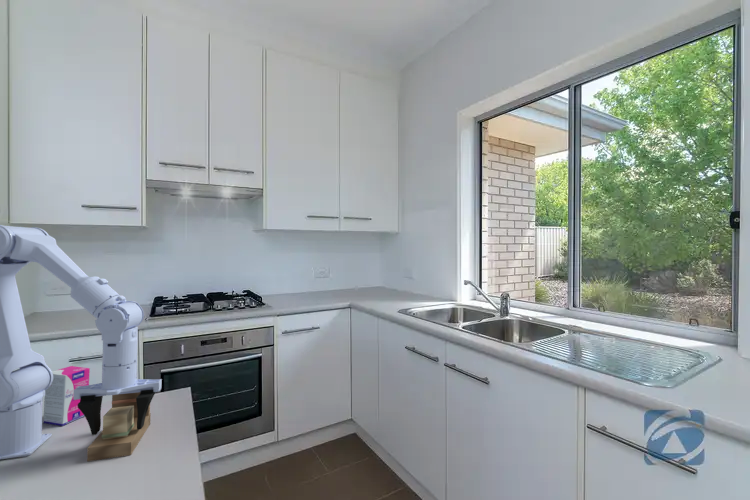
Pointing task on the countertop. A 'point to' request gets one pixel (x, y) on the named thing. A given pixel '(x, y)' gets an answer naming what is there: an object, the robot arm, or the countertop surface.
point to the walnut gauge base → (123, 444)
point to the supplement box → (64, 395)
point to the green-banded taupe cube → (118, 422)
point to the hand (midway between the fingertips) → (118, 429)
